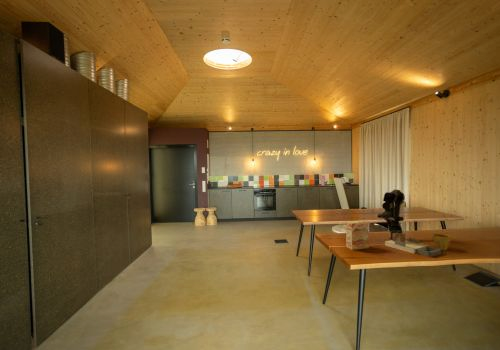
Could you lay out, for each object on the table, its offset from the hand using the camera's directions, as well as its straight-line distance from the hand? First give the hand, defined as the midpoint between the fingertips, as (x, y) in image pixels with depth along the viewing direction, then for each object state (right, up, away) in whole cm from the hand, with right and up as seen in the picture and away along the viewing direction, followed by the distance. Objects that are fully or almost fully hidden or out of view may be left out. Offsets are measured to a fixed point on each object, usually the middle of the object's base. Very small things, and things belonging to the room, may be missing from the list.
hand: (390, 228), depth 204 cm
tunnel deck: (+8, -12, -16) cm, 21 cm away
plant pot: (+29, -12, -15) cm, 35 cm away
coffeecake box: (-30, -13, -11) cm, 35 cm away
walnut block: (+3, -9, -6) cm, 11 cm away
